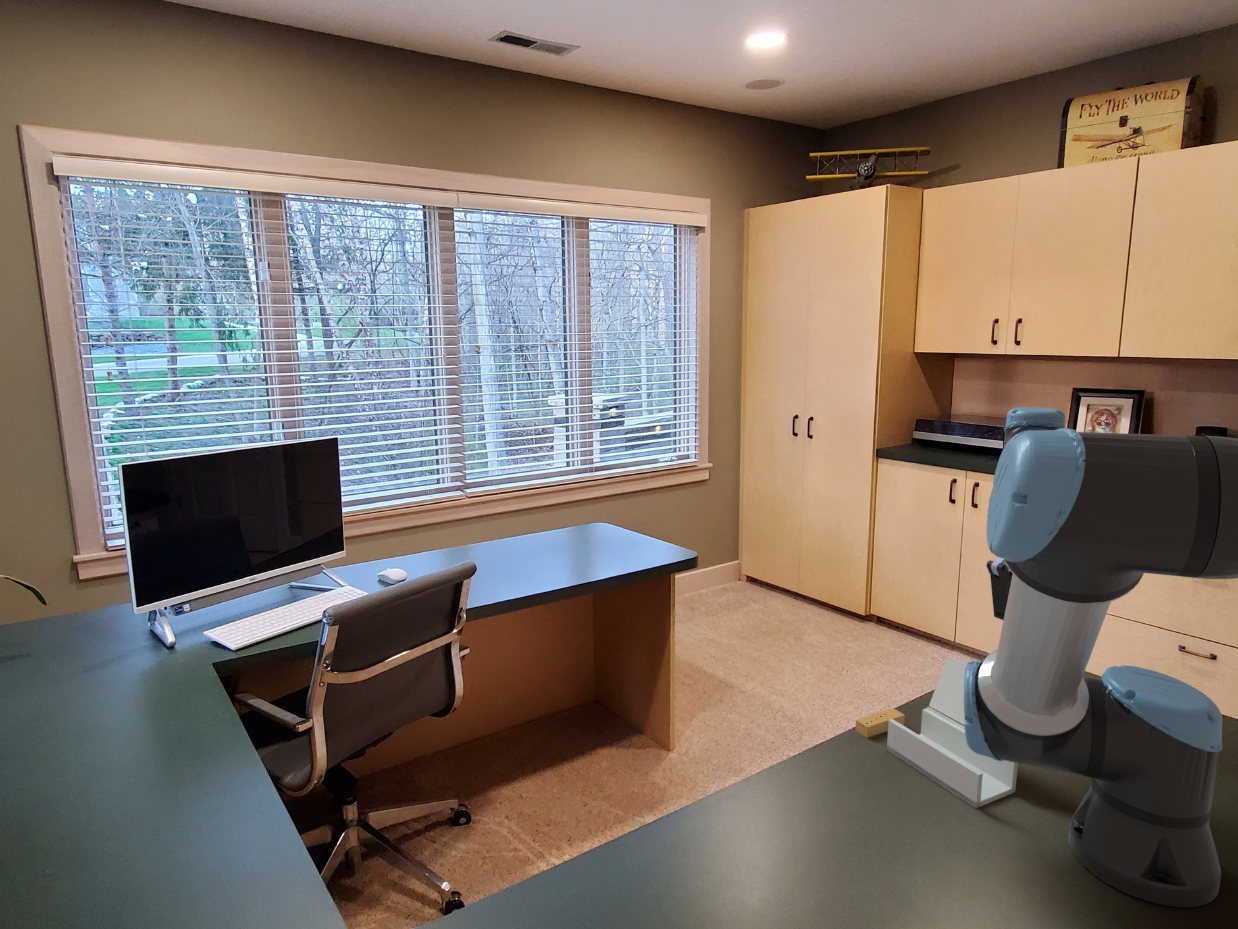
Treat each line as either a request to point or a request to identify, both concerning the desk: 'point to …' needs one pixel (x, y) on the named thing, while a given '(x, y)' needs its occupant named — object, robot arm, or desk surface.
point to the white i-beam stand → (952, 760)
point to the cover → (950, 692)
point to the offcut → (878, 722)
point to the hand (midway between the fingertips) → (1012, 660)
